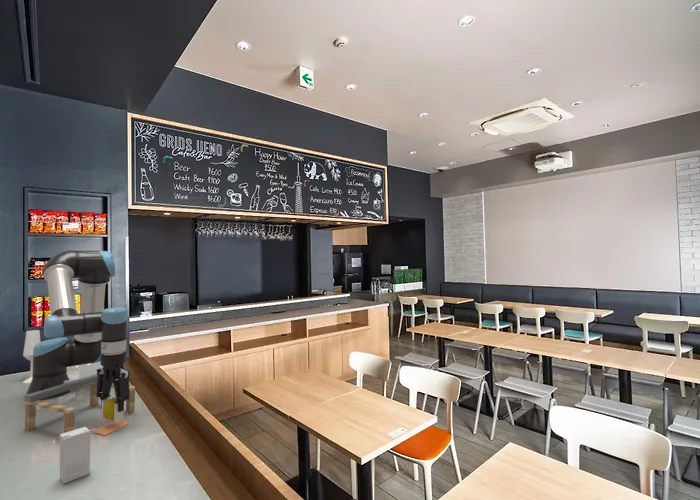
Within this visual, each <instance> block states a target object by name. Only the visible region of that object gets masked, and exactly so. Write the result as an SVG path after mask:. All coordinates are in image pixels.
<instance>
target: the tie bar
mask: <svg viewBox="0 0 700 500" xmlns="http://www.w3.org/2000/svg"><path fill="white" fill-rule="evenodd" d="M94 382H97V373H95V374H93V375H89V376H86V377H82V378H79V379H75V380H72V381H71V380H70V379H69V380H66V381H64V384H61V385H58V386H55V387H51V388H48V389H44V390H41V391H38V392H34V393H31V394H27V393H26V394H25V395H24V402H25V403H26V402H33V401H36V400H39V399H43V398H46V397H49V396H52V395H55V394H59V393H62V392H65V391H68V390H71V391H72V390H74V389H78V388H81V387H84V386H87V385H90V383H94ZM43 400H44V399H43Z"/></svg>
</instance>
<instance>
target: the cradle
mask: <svg viewBox="0 0 700 500" xmlns="http://www.w3.org/2000/svg"><path fill="white" fill-rule="evenodd" d="M89 385H90V386H89V389H90V390H89V407H91V406H93V407H92V408H95V407H97V406H99V397H97V396H96V395H97V382H94V383H90V384H89ZM112 388H113V389H114V384H113V383H112V386H111V389H112ZM135 402H136V386H134V385H130V384H129V399H128V400H125V414H126V413H128V414H127V415H129V414H130V415H132V414H134V413H133V412H135V405H136V403H135ZM96 405H97V406H96ZM94 406H95V407H94ZM37 407H38V408H42V409H45V410H51V411H55V412H59V413H63V433H66V432H69V431H73V430H75V420H76V419H75V417H76V408H75V407H71V406H66V405H62V404H59V403H57V404H56V403H52V402H48V401H44V400H36V401H33V402H26V401H25V408H24V409H25V410H24V412H25V415H24V416H25V417H24V422H25V423H24V431H25V432H30V431H31V432H32V431H33V430H35V429H36V422H37V421H36V419H37V418H36V417H37V415H36V414H37V413H36V412H37ZM131 413H132V414H131Z"/></svg>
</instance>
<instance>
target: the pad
mask: <svg viewBox="0 0 700 500" xmlns="http://www.w3.org/2000/svg"><path fill="white" fill-rule="evenodd" d="M130 423H132V424H133V421H128V420H124V419H122V420H120V421H118V422H114V420H112V421H111V422H108V423H106V424H104V425H101V426H100V427H97V428H94V429H93V430H91V431H90V433H91V432H94V433H93V434H95V433H98V434H97V435H100V434H102V435H101V436H104V435H106V436H108V435H110V434H112V433H114V432H113V431H115V432H116V430H117V431H119V430H121V429H123V428H125V427H127V426H129V425H128V424H130ZM126 425H127V426H126ZM130 425H131V424H130ZM124 426H125V427H124ZM122 427H123V428H122ZM120 428H121V429H120ZM118 429H119V430H118ZM111 432H112V433H111ZM109 433H110V434H109ZM107 434H108V435H107Z"/></svg>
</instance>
